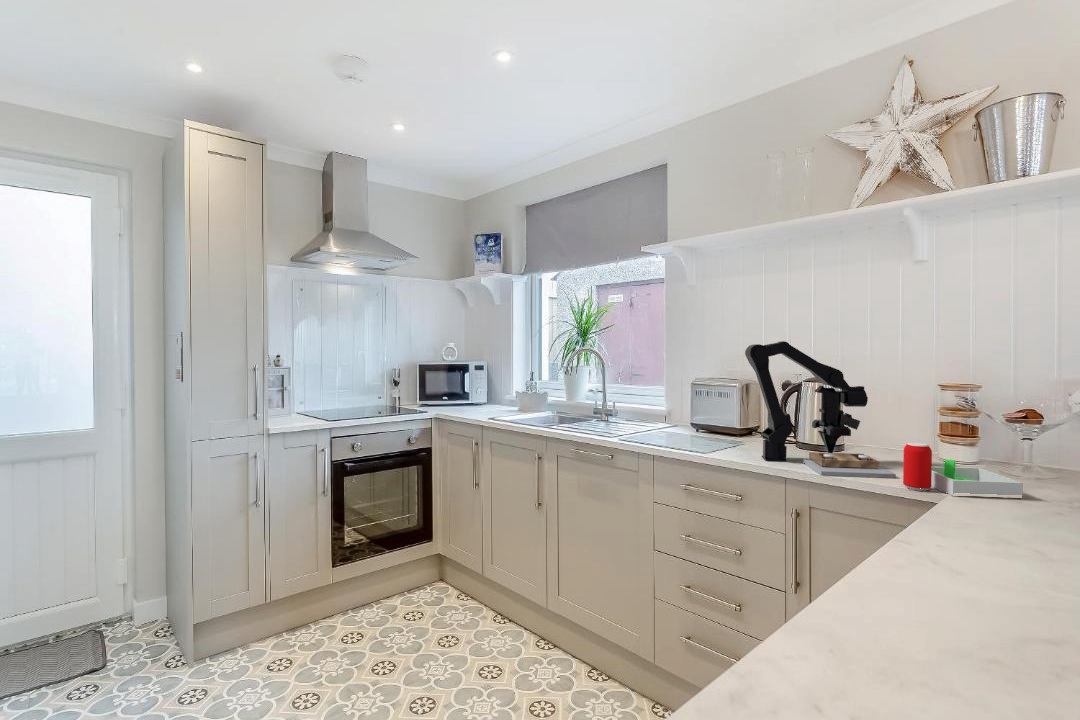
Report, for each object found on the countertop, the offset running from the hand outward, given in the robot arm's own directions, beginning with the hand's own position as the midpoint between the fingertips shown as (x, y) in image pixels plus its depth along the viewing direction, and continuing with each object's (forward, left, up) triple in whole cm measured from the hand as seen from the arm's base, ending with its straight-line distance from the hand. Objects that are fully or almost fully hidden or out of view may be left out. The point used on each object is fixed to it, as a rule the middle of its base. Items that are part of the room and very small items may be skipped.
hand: (830, 453), depth 183 cm
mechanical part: (+22, -32, -3) cm, 39 cm away
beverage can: (+10, -35, -3) cm, 36 cm away
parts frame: (+23, -33, -2) cm, 40 cm away
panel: (0, -11, -1) cm, 11 cm away
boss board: (0, -14, -2) cm, 14 cm away
